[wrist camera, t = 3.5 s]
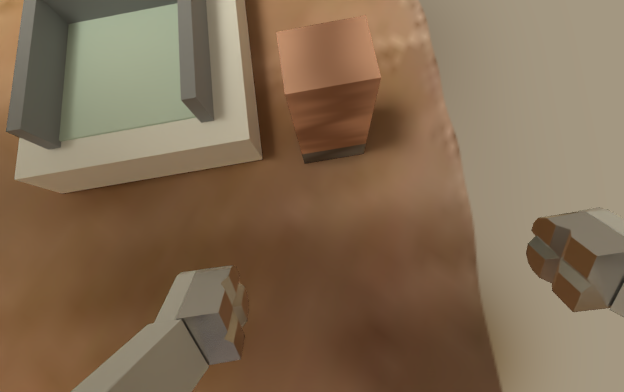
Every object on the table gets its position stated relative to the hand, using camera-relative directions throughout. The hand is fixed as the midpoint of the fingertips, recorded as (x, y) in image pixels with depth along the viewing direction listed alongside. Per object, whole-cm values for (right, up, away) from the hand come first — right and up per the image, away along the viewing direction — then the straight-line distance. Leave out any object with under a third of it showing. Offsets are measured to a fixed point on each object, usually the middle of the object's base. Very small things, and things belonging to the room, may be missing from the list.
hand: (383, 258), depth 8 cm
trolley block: (0, +7, +17) cm, 18 cm away
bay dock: (-16, +12, +20) cm, 28 cm away
